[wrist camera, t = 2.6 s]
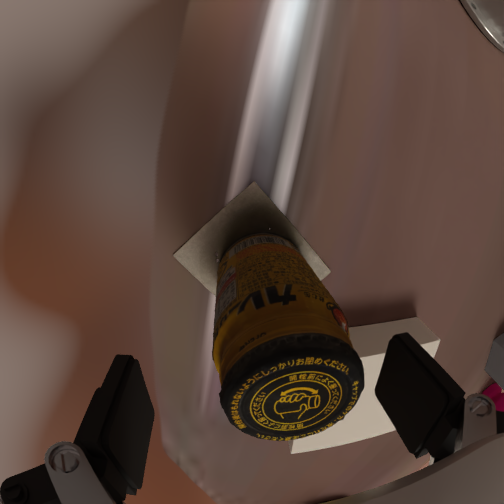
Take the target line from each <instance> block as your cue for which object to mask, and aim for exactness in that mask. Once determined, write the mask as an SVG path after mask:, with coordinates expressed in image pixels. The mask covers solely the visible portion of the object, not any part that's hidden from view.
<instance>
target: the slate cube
mask: <svg viewBox="0 0 504 504" xmlns="http://www.w3.org/2000/svg"><path fill="white" fill-rule="evenodd" d="M485 371H486V372H487V373H488V374H489V375H490V376H491V377H492V378H493V379H494V380H495V381H496V383H497V384H498V385H499V386H500V387H501V388H502V389H503V390H504V333H503V334H501V335H500V336H499V337H497V338H496V339H495V340H494V341H493V344H492V348H491V351H490V354H489V358H488V361H487V364H486V367H485Z"/></svg>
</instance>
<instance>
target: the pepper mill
mask: <svg viewBox="0 0 504 504" xmlns="http://www.w3.org/2000/svg"><path fill="white" fill-rule="evenodd" d="M501 390H502V388H501V387H500V386H499V385H498V384H497V383H494V384H492V385H490V386H489V387H488V388H487V389H486V390H484V392H483V393H482V394H484V395H486V396H488V397H489V398H490V399H492V401H493V402H494V404H495V408H496V410H497V411H502V412H504V393H501Z"/></svg>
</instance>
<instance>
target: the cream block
mask: <svg viewBox="0 0 504 504" xmlns="http://www.w3.org/2000/svg"><path fill="white" fill-rule="evenodd" d="M405 332H408V333H409V334H410V335H411V336H412V337H413V338H414V339H415V340H416V341H417V342H418V343H419V344H420V345H421V346H422V347H423V348H424V349H425V350H426V351H427V352H428V353H429V354H430V355H431V356H432V357H433V358H434V356H435V353H436V351H437V348H438V345H439V343H440V339H439V338H438V337H437V336H436V335H435V334H434V333H433V332H432V331H431V330H430V329H429V328H428V327H427V326H426V325H425V324H424V323H423V322H422V321H421V320H420V319H419V318H418V317H414V318H408V319H403V320H397V321H391V322H385V323H378V324H372V325H365V326H357V327H350V328H349V333H350V340H351V342H352V345H353V348H354V349H355V351H356V352H357V353H358V355H359V357H360V359H361V360H362V364H363V367H364V382H365V386H364V389H363V391H362V393H361V395H360V398H359V400H358V401H357V403H356V405H355V406H354V407H353V408H352V410H351V411H350V412H349V413H347V414H346V415H345V417H344V419H343V420H340V421H338V422H337V423H336V424H334V425H333V426H331V427H329V428H327V429H326V430H324V431H322V432H320V433H317V434H314V435H311V436H307V437H304V438H299V439H295V440H288V442H289V447H290V451H291V454H294V453H301V452H307V451H313V450H319V449H324V448H329V447H334V446H339V445H343V444H348V443H352V442H356V441H360V440H364V439H367V438H371V437H374V436H378V435H381V434H384V433H388V432H391V431H394V430H396V429H395V427H394V425H393V424H392V422H391V420H390V419H389V417H388V415H387V414H386V412H385V411H384V409H383V407H382V406H381V404H380V402H379V401H378V399H377V397H376V396H375V386H376V383H377V380H378V377H379V374H380V370H381V367H382V364H383V360H384V357H385V353H386V350H387V346H388V343H389V340H390V339H392V337H393V335H395V334H400V333H405Z"/></svg>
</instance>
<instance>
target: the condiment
mask: <svg viewBox="0 0 504 504" xmlns="http://www.w3.org/2000/svg"><path fill="white" fill-rule="evenodd" d="M269 228H271V229H270V230H269ZM216 252H217V253H218V256H217V257H216V256H215V253H216ZM173 256H174V257H175V258H176V259H177V260H178V261H179V262H180V263H181V264H182V265H183V266H184V267H185V268H186V269H187V270H188V271H189V272H190V273H191V274H192V275H193V276H194V277H195V278H197V279H198V280H199V281H200V282H201V283H202V284H203V285H204V286H205V287H206V288H207V289H208V290H209V291H210V292H211V293H213V294H214V295H215V296H216V305H215V318H214V333H213V350H212V357H213V361H214V363H215V366H216V369H217V371H218V373H219V378H220V383H221V392H220V393H219V396H220V403H221V406H222V408H223V409H224V412H225V414H226V416H227V417H228V420H229V421H230V423H231V424H232V425H234V426H235V427H236V428H238V429H239V430H241V431H242V432H244V433H246V434H249V435H251V436H254V437H257V438H260V439H267V440H277V441H286V440H295V439H299V438H304V437H307V436H311V435H314V434H317V433H320V432H322V431H324V430H326V429H327V428H329V427H331V426H333V425H334V424H336V423H337V422H338V421H340V420H343V419H344V417H345V415H346V414H347V413H349V412H350V411H351V410H352V408H353V407H354V406H355V405H356V403H357V401H358V400H359V398H360V395H361V393H362V391H363V389H364V386H365V382H364V367H363V364H362V360H361V359H360V357H359V355H358V353H357V352H356V351H355V349H354V348H353V345H352V342H351V340H350V333H349V328H348V323H347V320H346V318H345V316H344V314H343V312H342V310H341V309H340V307H339V305H338V304H337V303H336V302H335V300H334V299H333V297H332V296H331V295H330V293H329V291H328V290H327V289H326V288H325V286H324V285H323V284H322V282H321V280H322V279H323V278H325V277H326V276H327V275H328V274H329V273H330V272H331V271H330V270H329V269H328V267H327V266H326V265H325V264H324V262H323V261H322V260H321V259H320V258H319V256H318V255H317V254H316V253H315V252H314V250H313V249H312V248H311V247H310V246H309V244H308V243H307V242H306V241H305V240H304V238H303V237H302V236H301V235H300V234H299V232H298V231H297V230H296V229H295V228H294V226H293V225H292V224H291V223H290V222H289V221H288V219H287V218H286V217H285V216H284V215H283V214H282V212H281V211H280V210H279V209H278V208H277V207H276V205H275V204H274V203H273V202H272V201H271V200H270V199H269V198H268V196H267V195H266V194H265V193H264V192H263V191H262V190H261V188H260V187H259V186H258V185H257V184H256V183H255V182H253V183H252V184H250V185H249V186H248V187H247V188H246V189H245V190H243V191H242V192H241V193H240V194H239V195H238V196H237V197H235V198H234V199H233V200H232V201H231V202H230V203H229V204H228V205H227V206H225V207H224V208H223V209H222V210H221V211H220V212H219V213H218V214H216V215H215V216H214V217H213V218H212V219H211V220H210V221H209V222H208V223H207V224H206V225H204V226H203V227H202V228H201V229H200V230H199V231H198V232H197V233H196V234H195V235H194V236H193V237H192V238H191V239H190V240H189V241H187V242H186V244H184V245H183V246H182V247H181V248H180V249H179V250H178V251H177V252H176V253H175V254H174V255H173ZM216 259H219V261H218V262H216Z"/></svg>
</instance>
